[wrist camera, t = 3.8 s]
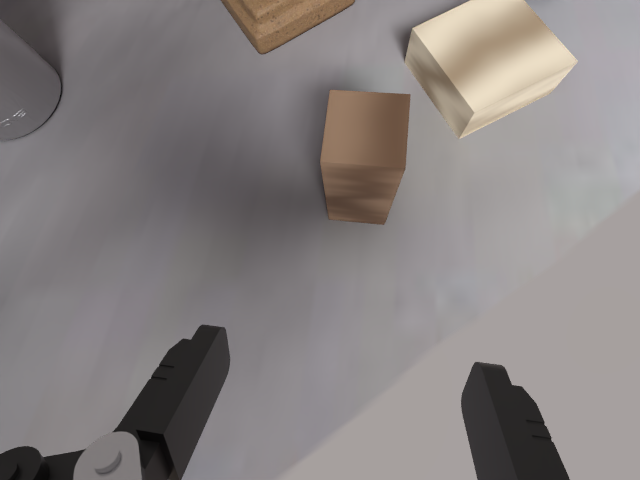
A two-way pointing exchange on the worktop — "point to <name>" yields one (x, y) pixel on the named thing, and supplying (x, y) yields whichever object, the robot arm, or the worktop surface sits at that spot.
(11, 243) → the worktop surface
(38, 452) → the robot arm
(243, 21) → the candle holder
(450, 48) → the birch block
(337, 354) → the worktop surface
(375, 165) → the walnut pillar
